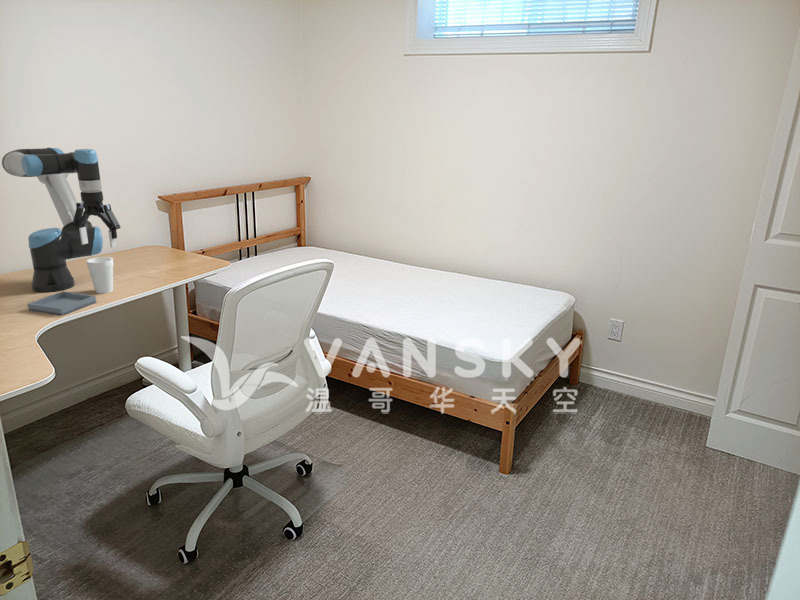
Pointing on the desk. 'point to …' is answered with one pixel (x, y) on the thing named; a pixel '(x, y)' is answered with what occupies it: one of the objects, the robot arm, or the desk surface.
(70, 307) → the grey tray
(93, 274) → the foam cup
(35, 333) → the desk surface
